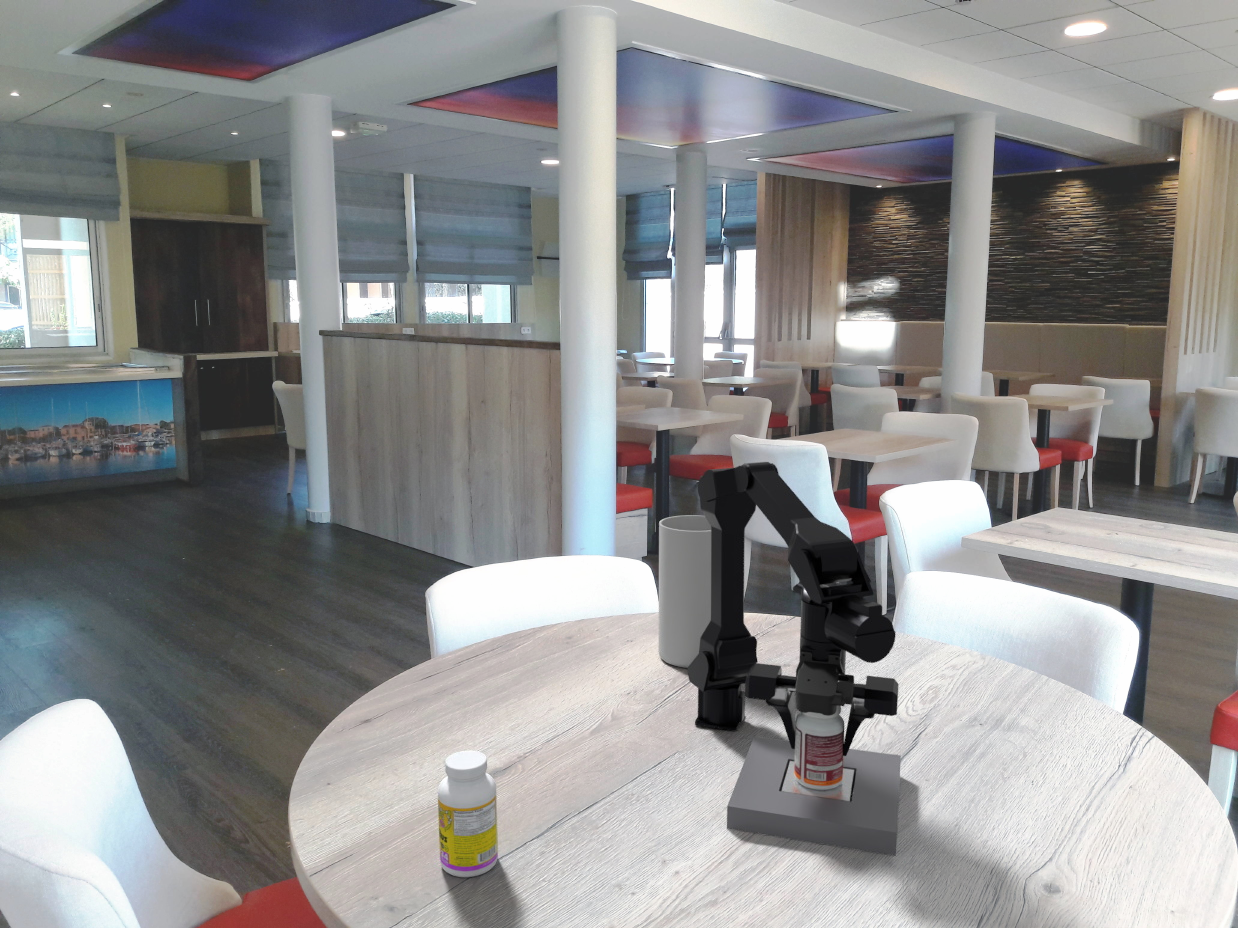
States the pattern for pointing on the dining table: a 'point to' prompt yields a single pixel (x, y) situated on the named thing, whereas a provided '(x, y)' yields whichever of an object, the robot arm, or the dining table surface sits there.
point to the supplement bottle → (467, 816)
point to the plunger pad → (837, 793)
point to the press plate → (818, 801)
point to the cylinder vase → (683, 587)
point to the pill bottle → (819, 750)
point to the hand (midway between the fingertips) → (819, 751)
